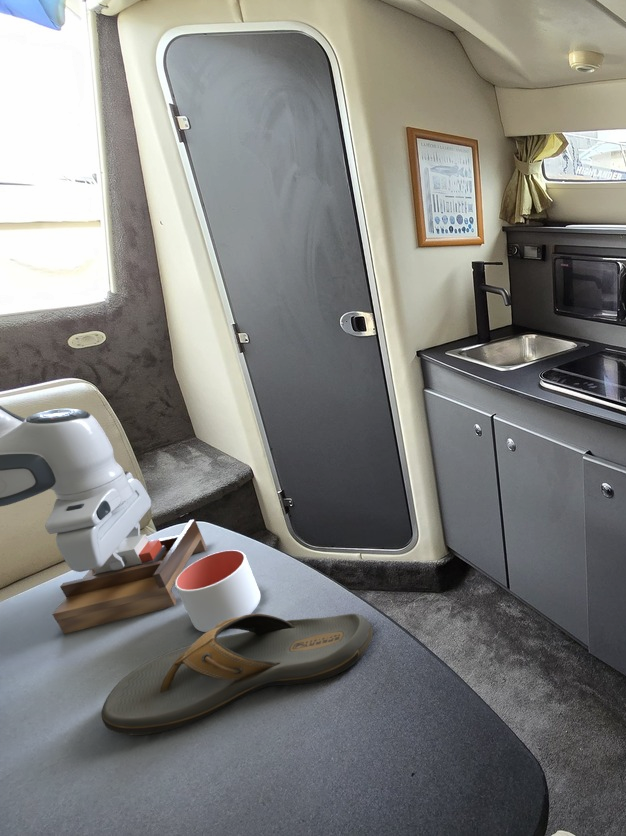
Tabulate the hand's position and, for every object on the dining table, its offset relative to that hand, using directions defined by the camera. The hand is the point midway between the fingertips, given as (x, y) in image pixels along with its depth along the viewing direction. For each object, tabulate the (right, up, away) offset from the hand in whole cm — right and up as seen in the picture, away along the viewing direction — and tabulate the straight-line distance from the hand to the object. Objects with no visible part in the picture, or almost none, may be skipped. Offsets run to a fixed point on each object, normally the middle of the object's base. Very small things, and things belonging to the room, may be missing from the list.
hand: (128, 556), depth 93 cm
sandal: (+35, -13, -16) cm, 41 cm away
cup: (+22, -9, -4) cm, 24 cm away
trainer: (0, -2, +1) cm, 2 cm away
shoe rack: (0, -7, +3) cm, 8 cm away
